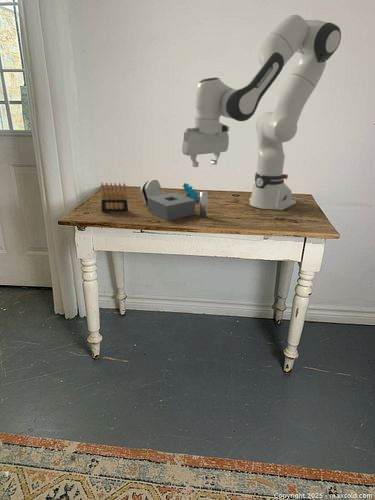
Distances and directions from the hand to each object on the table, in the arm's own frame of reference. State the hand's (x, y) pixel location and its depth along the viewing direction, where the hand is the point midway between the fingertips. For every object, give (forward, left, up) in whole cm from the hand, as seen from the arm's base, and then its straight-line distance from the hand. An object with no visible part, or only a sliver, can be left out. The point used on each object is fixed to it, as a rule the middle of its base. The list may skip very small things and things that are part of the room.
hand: (204, 165), depth 131 cm
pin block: (+8, -11, -21) cm, 25 cm away
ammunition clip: (+26, -26, -21) cm, 42 cm away
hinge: (+4, -31, -21) cm, 37 cm away
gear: (-11, -21, -21) cm, 32 cm away
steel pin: (0, 0, -21) cm, 21 cm away
